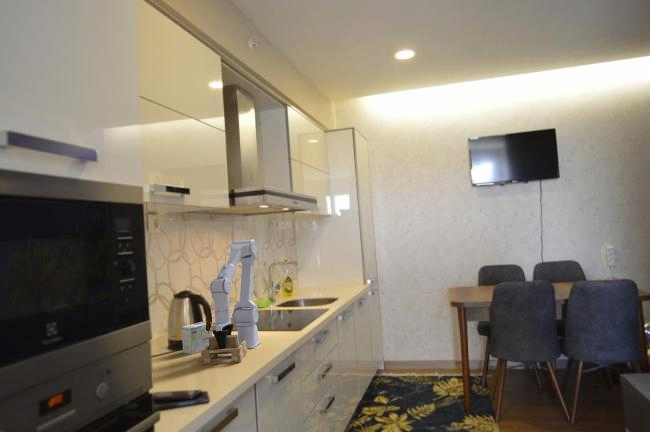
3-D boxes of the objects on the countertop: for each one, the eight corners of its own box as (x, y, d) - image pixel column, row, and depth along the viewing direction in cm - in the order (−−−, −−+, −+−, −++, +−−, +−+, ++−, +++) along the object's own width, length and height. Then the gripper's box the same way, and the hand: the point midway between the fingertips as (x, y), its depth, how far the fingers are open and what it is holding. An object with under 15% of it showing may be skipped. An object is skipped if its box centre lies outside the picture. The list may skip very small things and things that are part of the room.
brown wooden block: (209, 355, 176) (208, 338, 177) (212, 352, 180) (211, 336, 181) (236, 353, 176) (235, 336, 176) (238, 350, 180) (237, 334, 180)
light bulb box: (204, 346, 202) (202, 321, 202) (213, 348, 197) (212, 322, 198) (182, 352, 193) (180, 326, 194) (192, 354, 189) (190, 327, 189)
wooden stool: (211, 355, 185) (211, 342, 185) (247, 352, 185) (246, 339, 185) (202, 365, 171) (201, 351, 171) (240, 362, 171) (239, 348, 171)
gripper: (216, 307, 186) (218, 342, 186) (206, 314, 172) (209, 352, 171) (234, 306, 186) (236, 341, 186) (225, 313, 171) (228, 350, 171)
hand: (224, 346), depth 178 cm, fingers open, 7 cm apart
